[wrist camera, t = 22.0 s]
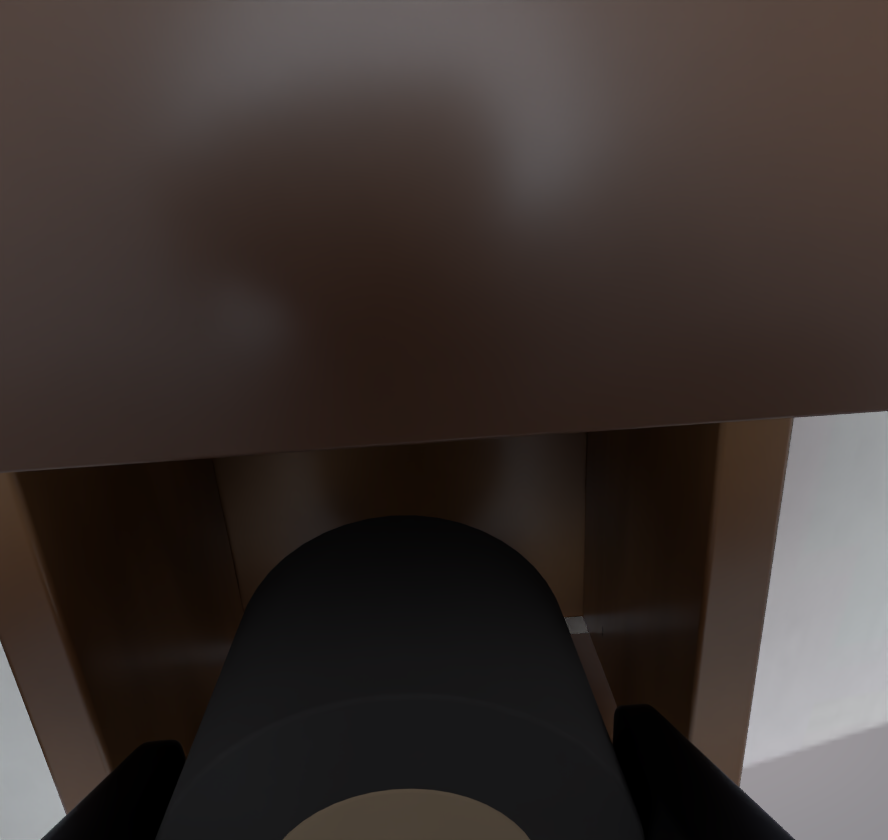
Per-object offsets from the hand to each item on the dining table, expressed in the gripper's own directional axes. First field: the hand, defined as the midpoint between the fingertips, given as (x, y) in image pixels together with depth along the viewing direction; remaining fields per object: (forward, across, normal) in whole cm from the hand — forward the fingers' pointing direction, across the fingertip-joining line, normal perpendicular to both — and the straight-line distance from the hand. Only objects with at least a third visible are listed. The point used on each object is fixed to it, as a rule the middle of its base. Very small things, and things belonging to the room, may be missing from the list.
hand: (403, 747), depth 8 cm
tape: (+2, 0, +1) cm, 2 cm away
